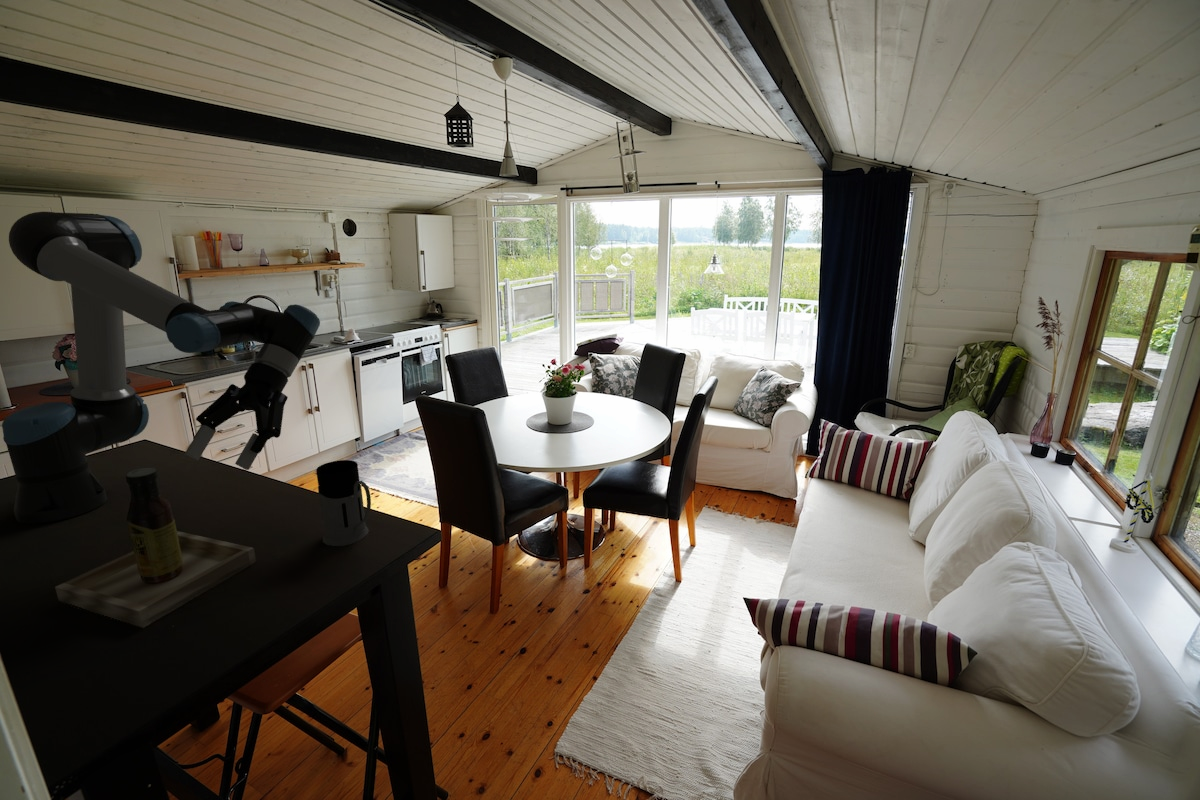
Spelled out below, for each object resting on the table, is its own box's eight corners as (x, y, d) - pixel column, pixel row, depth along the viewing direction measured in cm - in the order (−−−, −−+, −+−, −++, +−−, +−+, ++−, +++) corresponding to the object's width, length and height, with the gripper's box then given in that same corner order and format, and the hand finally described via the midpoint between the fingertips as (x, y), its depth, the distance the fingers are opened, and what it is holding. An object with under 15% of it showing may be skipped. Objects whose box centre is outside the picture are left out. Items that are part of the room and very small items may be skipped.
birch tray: (59, 602, 94) (54, 586, 93) (180, 544, 112) (177, 531, 111) (143, 627, 88) (139, 611, 87) (256, 562, 106) (253, 547, 105)
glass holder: (352, 521, 122) (344, 455, 118) (394, 539, 114) (386, 470, 110) (313, 538, 115) (303, 469, 111) (354, 559, 107) (345, 485, 103)
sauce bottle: (137, 576, 100) (112, 471, 95) (180, 562, 104) (158, 461, 99) (145, 590, 95) (118, 481, 90) (189, 575, 100) (166, 470, 95)
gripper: (328, 385, 119) (278, 478, 109) (241, 374, 127) (186, 460, 117) (305, 366, 112) (249, 463, 103) (214, 355, 120) (154, 445, 111)
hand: (215, 462), depth 110 cm, fingers open, 13 cm apart
